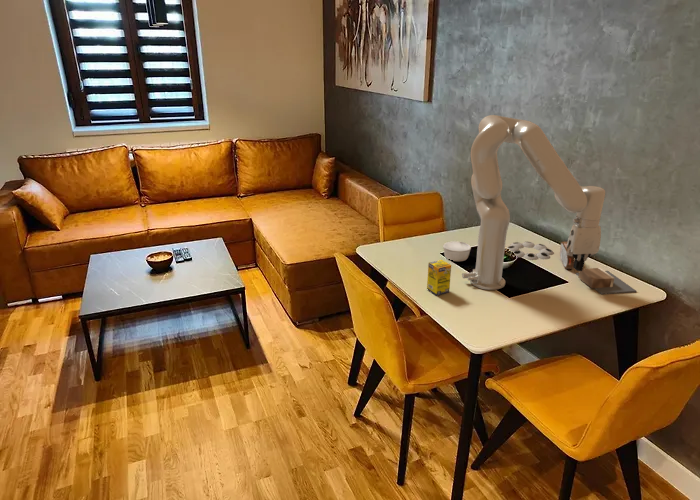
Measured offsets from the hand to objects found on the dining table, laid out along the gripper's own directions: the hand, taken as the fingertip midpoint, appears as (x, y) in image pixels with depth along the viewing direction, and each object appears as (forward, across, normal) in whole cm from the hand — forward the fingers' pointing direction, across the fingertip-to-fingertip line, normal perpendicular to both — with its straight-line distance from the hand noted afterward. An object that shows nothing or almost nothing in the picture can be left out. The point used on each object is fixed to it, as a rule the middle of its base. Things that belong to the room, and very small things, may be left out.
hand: (577, 269), depth 178 cm
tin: (+6, +6, +18) cm, 20 cm away
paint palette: (+7, -2, +33) cm, 34 cm away
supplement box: (+7, -51, +2) cm, 52 cm away
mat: (+6, +12, 0) cm, 13 cm away
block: (+4, +4, 0) cm, 5 cm away
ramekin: (+7, -35, +31) cm, 47 cm away
